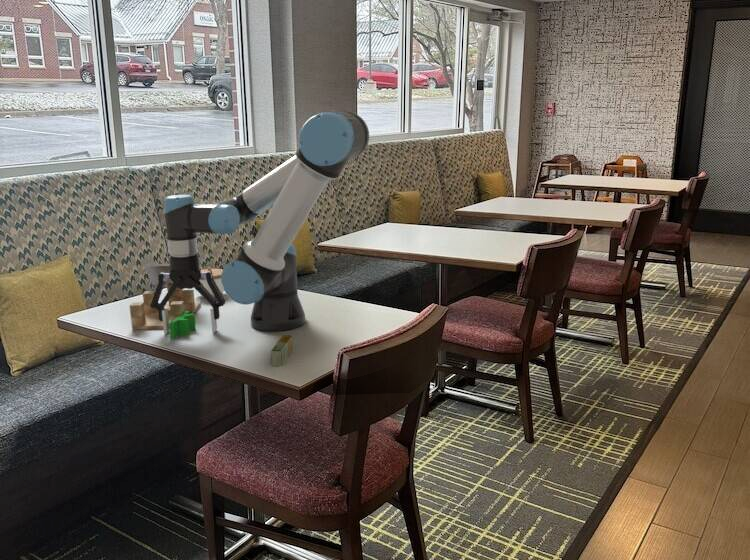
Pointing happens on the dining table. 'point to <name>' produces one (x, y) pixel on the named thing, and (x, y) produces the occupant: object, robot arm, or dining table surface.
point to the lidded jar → (217, 279)
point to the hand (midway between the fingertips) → (190, 331)
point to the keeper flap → (155, 270)
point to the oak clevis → (177, 305)
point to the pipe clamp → (182, 324)
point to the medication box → (281, 350)
